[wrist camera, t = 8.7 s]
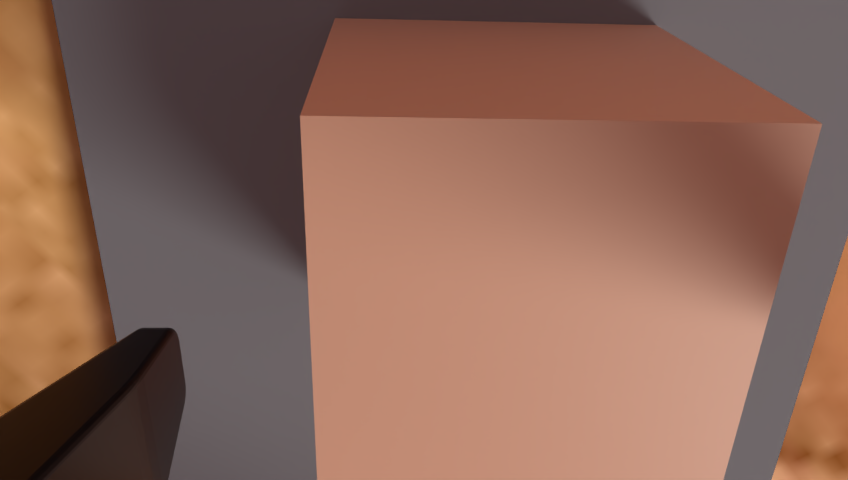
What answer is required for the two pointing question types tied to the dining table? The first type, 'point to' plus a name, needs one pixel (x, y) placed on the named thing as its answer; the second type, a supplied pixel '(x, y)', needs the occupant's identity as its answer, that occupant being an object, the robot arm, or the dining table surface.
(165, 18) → the mat
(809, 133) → the cube
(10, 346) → the dining table surface
